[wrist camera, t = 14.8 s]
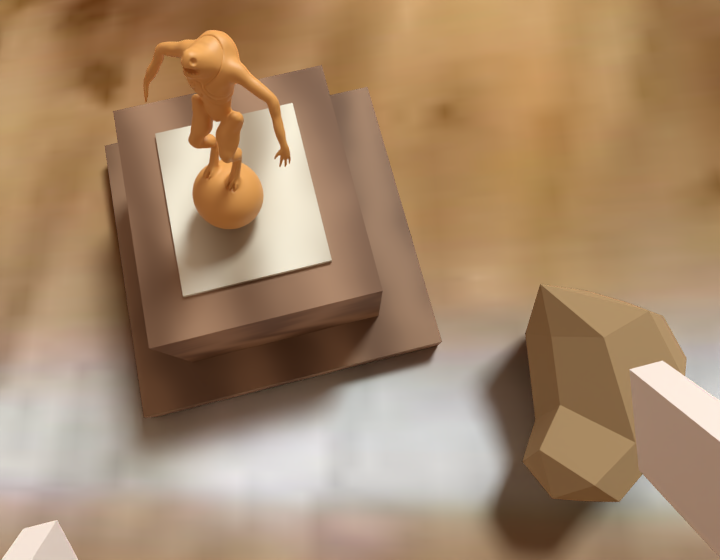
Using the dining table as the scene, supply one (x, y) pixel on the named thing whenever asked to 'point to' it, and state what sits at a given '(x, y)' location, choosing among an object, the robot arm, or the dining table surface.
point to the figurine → (221, 126)
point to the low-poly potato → (589, 390)
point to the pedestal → (264, 249)
